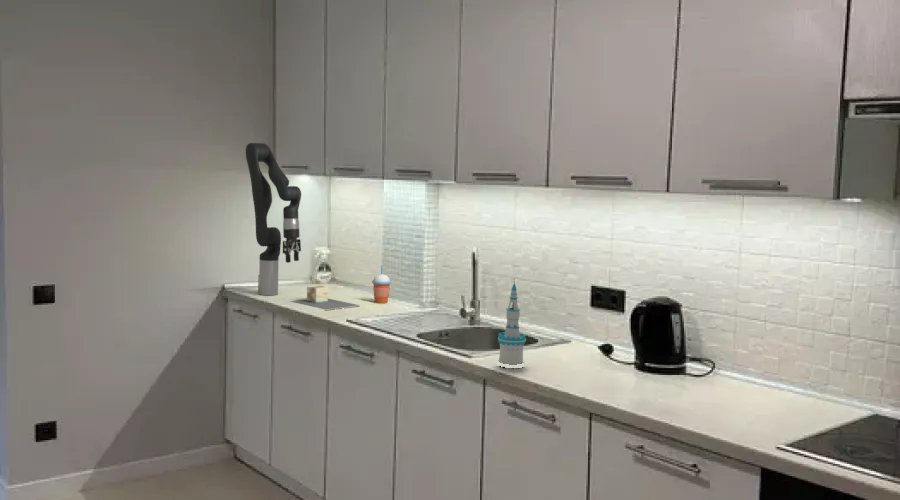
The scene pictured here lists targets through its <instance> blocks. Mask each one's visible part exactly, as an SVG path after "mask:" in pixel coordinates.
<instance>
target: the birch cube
mask: <svg viewBox="0 0 900 500" xmlns="http://www.w3.org/2000/svg"><path fill="white" fill-rule="evenodd" d="M306 299H307V302H312V303H324V302H328V299H329V287H328V286H323V285H312V286H311V285H310V286H306Z"/></svg>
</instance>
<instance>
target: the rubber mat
mask: <svg viewBox="0 0 900 500" xmlns="http://www.w3.org/2000/svg"><path fill="white" fill-rule="evenodd" d="M289 302H291V303H295V304H298V305H299V304H300V305H304V306H308V307H313V308H316V309H322V310H324V311H325V312H328V311H335V309H337V310H343V309H342V308H346V309H351V308H353V307H354V308H360V306H361V305H359V304H355V303H351V302H346V301H341V300H337V299H332V298H328V302H324V303H312V302H307V298H306V299H299V300H290V301H289Z"/></svg>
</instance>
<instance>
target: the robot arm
mask: <svg viewBox="0 0 900 500" xmlns="http://www.w3.org/2000/svg"><path fill="white" fill-rule="evenodd" d="M245 157H246V159H245V160H246V163H247V167H248V171H249V176H250V184H251V193H252V201H253V207H254V219H255V221H254V222H255V238H256V242H257V244H258V245H259V247H266V248H265V250H264V251H263V252H261V253H260V254H259V259H258V260H259V269H258V271H259V272H258V276H257V277H258V278H257V284H258V285H257V287H258V288H257V294H259V295H261V296H278V294H279V257H280V254H281V244H282V254H284V255H285V263H286V264H287V263H291V262H292V261H291V253H292V251H293V261H294V262H299V261H300V257H299V254H300V252H301V251H302V245H301V242H302V241H301V238H300V221H299V208H300V204H301V199H302V190H301V188H300V187H299V186H296V185H295V186H294V185H290V180H289V177H287V176H286V174H285V173H284V172H283V170H282V169H281V167H280V165H279V164H278V162H277V160H276V158H275V156H274V153H273V151H272V150H271V148H270V146H268V145H267V144H266V143H263V142H249V143H248V144H247V145H246V146H245ZM260 163H264V164H265V165H266V166H267V167H268V170H267V171H268V173H267V174H268V177H269V180H270V181H271V183H272V184H273V185H274V187H275V189H276V191H277V194H278V197H279V199H281V200H282V201H285V202H289V204H288V205H286V206H284V207H283V210H282V212H283V214H282V215H283V217H282V218H283V219H282V220H283V222H282V227H283V228H282V230H283V231H282V233H283V238H284V239H285V240H282V236H281V235H282V234H281V231H280V229H279V228H278V227H274V226H272V227H270V226H269V227H268V213H269V212H270V208H271V207H272V203H273V194H272V187H271V184H270V183H269V181H268V180H267V179H266V177H265V176H264V175H263V173H262V171H261V168H260Z"/></svg>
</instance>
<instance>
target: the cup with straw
mask: <svg viewBox="0 0 900 500" xmlns="http://www.w3.org/2000/svg"><path fill="white" fill-rule="evenodd" d="M371 283H372V284H373V288H372V289H373V297H374V303H375V304H381V305H382V304H383V305H384V304H387V303H388V302H389V295H390V289H391V287H390V285H391V284H392V280H390V278H389V276H388V275H386V274H384V265H380V274H377V275H376V276H374V279H373V280H372V281H371Z"/></svg>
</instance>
